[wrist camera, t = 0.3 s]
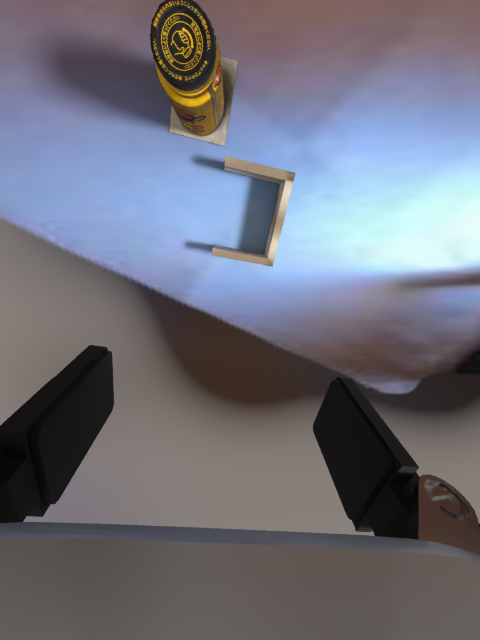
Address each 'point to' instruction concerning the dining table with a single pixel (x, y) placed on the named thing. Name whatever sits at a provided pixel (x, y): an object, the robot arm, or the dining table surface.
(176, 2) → the condiment
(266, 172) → the u rest
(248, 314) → the dining table surface
